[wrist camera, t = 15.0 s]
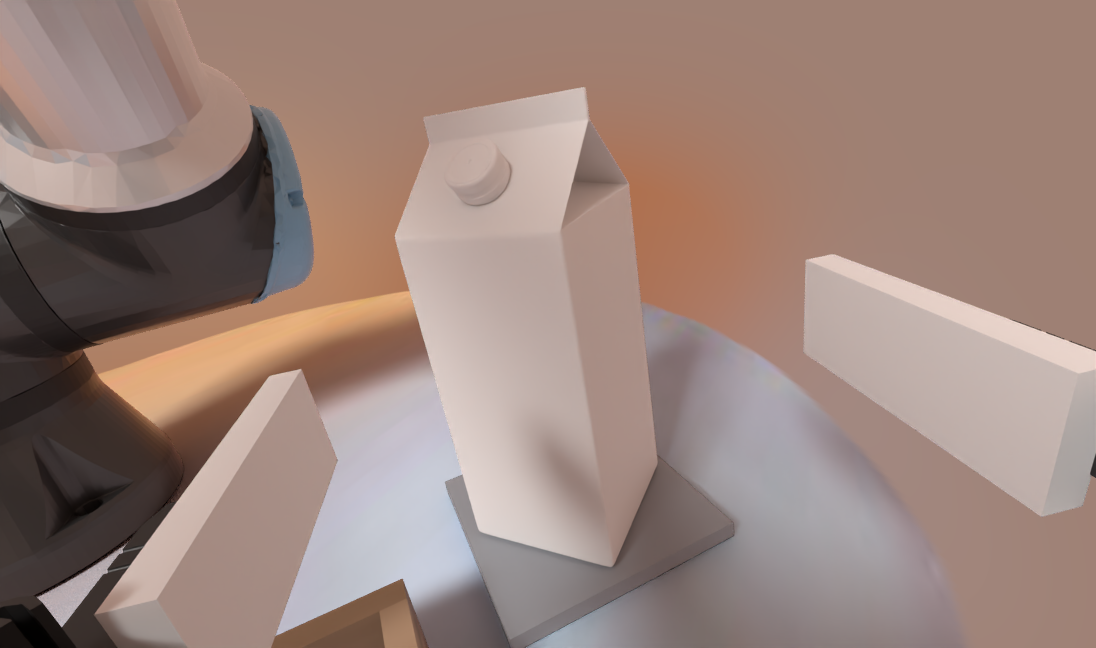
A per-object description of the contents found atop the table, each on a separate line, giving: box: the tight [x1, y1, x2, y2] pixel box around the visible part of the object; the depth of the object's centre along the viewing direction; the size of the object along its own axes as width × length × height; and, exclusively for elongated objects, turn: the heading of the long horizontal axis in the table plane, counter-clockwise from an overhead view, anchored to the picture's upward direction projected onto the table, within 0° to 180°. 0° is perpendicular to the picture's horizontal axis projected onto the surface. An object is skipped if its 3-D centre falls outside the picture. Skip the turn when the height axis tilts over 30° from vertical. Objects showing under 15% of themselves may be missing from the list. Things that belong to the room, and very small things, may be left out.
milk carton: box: [395, 87, 658, 567], centre depth 23 cm, size 7×7×19 cm
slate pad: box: [445, 455, 734, 648], centre depth 27 cm, size 11×11×1 cm
